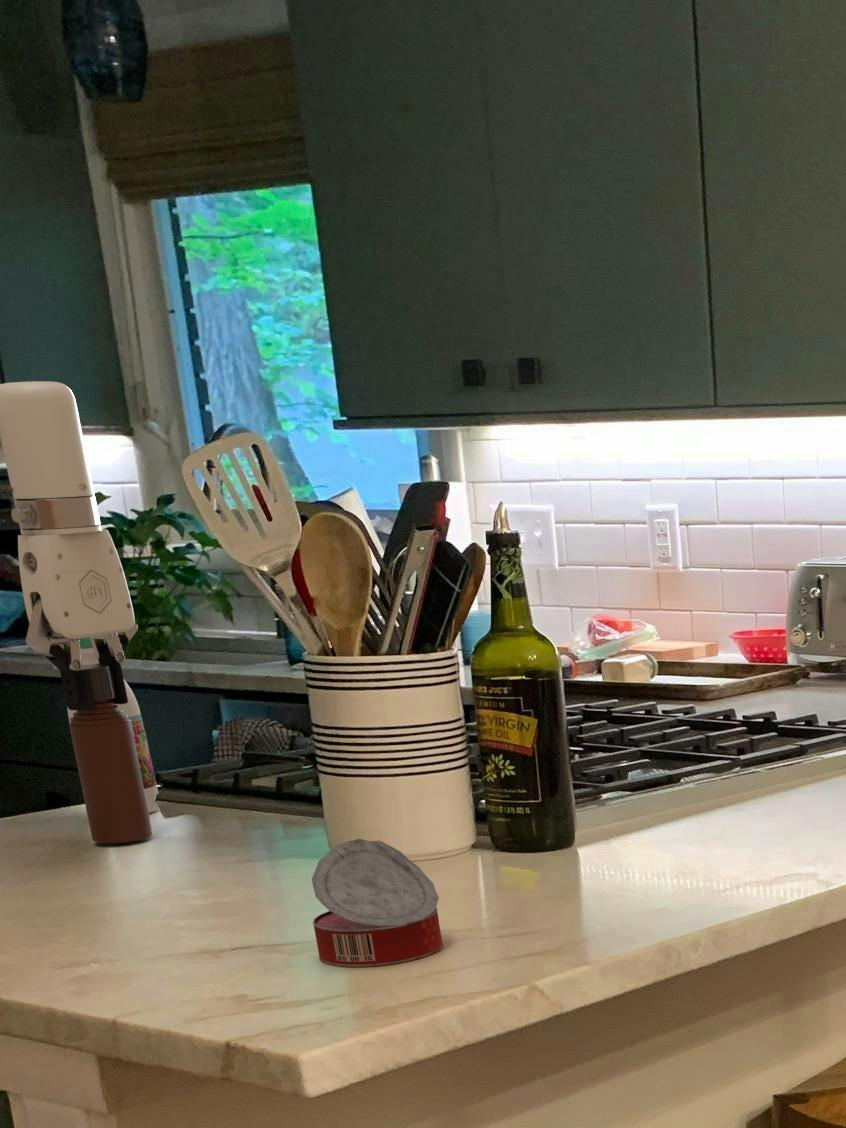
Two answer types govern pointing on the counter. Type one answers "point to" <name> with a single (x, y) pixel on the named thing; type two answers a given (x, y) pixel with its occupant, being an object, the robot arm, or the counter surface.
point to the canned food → (374, 907)
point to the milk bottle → (137, 726)
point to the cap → (100, 681)
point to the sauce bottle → (110, 774)
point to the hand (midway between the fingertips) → (98, 704)
